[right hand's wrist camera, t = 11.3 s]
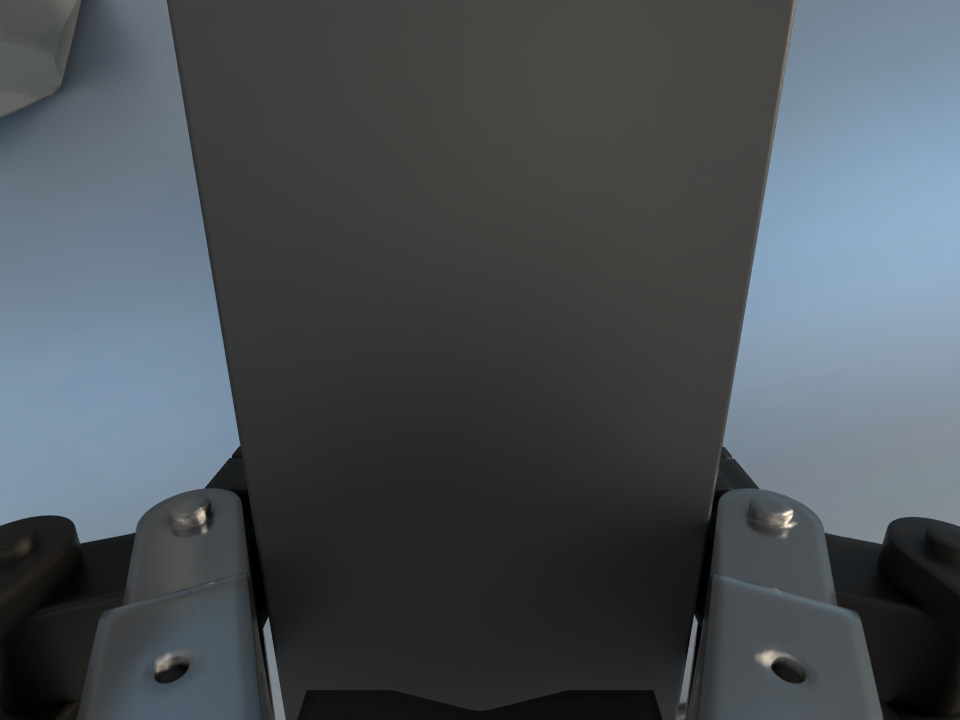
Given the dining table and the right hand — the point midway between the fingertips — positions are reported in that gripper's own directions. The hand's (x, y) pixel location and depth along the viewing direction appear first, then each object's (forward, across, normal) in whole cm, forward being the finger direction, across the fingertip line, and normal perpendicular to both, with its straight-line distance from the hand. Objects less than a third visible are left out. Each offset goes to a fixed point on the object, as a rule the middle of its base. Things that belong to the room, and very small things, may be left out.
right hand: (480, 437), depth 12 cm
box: (+8, 0, -11) cm, 13 cm away
